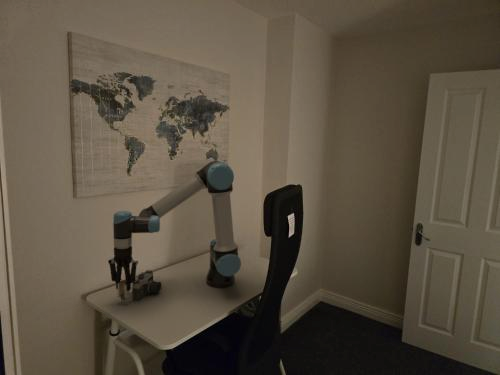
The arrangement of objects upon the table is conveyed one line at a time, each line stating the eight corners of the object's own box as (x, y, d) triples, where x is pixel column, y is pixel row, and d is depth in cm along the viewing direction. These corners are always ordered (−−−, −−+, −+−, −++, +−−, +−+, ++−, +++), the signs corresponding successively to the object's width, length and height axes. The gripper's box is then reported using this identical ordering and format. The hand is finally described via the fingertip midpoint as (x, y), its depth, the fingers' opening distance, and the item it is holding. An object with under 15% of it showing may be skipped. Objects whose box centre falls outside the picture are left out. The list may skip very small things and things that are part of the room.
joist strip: (143, 288, 164) (143, 288, 164) (125, 305, 147) (125, 305, 147) (136, 288, 164) (136, 287, 164) (117, 304, 148) (117, 304, 148)
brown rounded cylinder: (128, 297, 150) (128, 280, 149) (124, 300, 147) (124, 283, 146) (122, 296, 151) (122, 279, 149) (118, 299, 147) (117, 282, 146)
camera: (150, 303, 150) (150, 282, 148) (130, 300, 152) (129, 280, 150) (165, 288, 165) (165, 269, 164) (146, 286, 167) (146, 267, 165)
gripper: (143, 245, 148) (143, 294, 151) (111, 242, 150) (112, 290, 154) (135, 250, 141) (135, 302, 144) (101, 247, 143) (102, 298, 146)
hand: (123, 296), depth 149 cm, fingers closed on brown rounded cylinder, 2 cm apart
